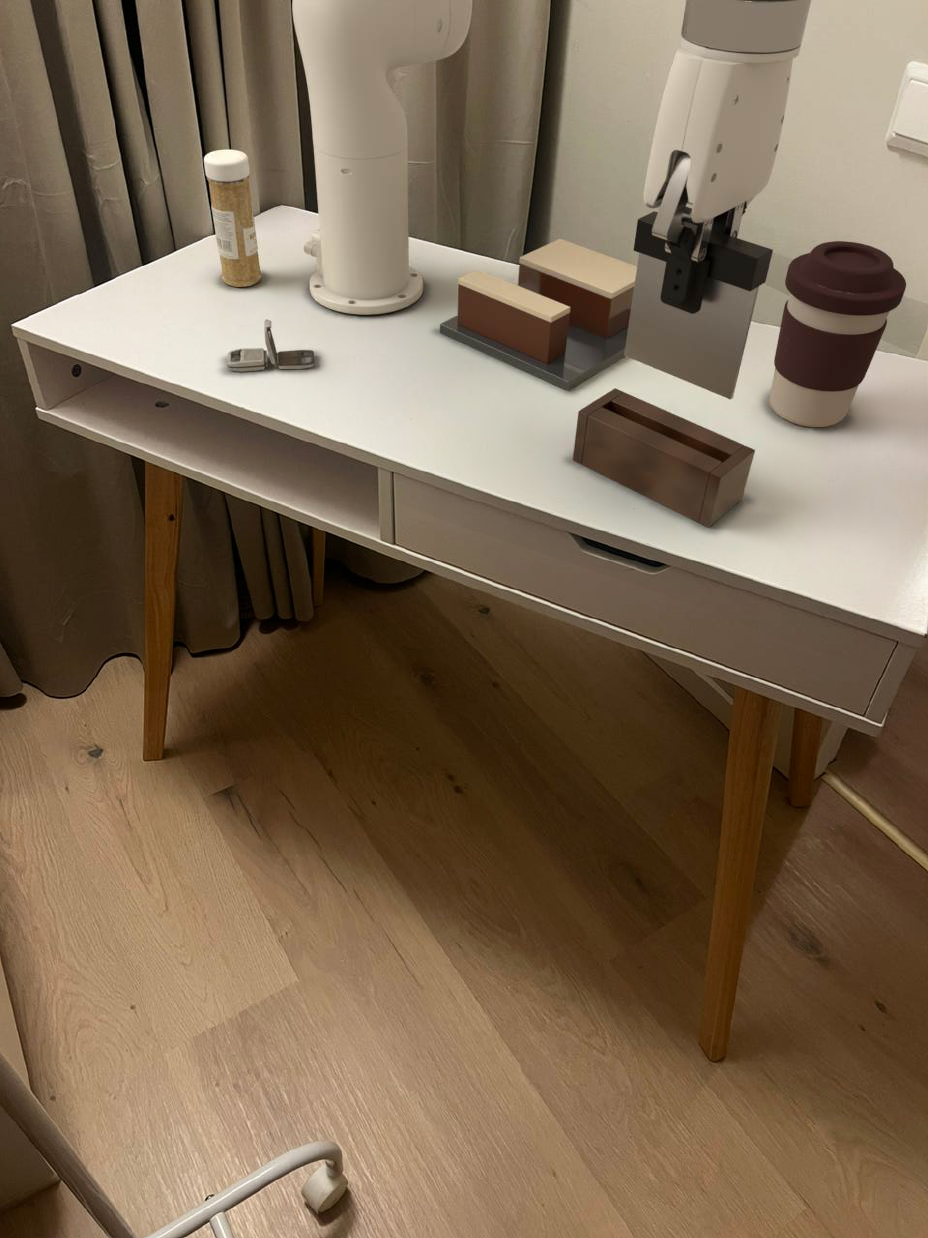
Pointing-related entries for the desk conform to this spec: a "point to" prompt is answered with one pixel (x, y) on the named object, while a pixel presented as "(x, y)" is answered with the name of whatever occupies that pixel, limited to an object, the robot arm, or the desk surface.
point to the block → (662, 456)
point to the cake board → (560, 368)
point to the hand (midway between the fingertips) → (690, 298)
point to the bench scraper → (708, 337)
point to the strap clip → (258, 356)
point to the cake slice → (513, 316)
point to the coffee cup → (831, 329)
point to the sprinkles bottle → (233, 216)
